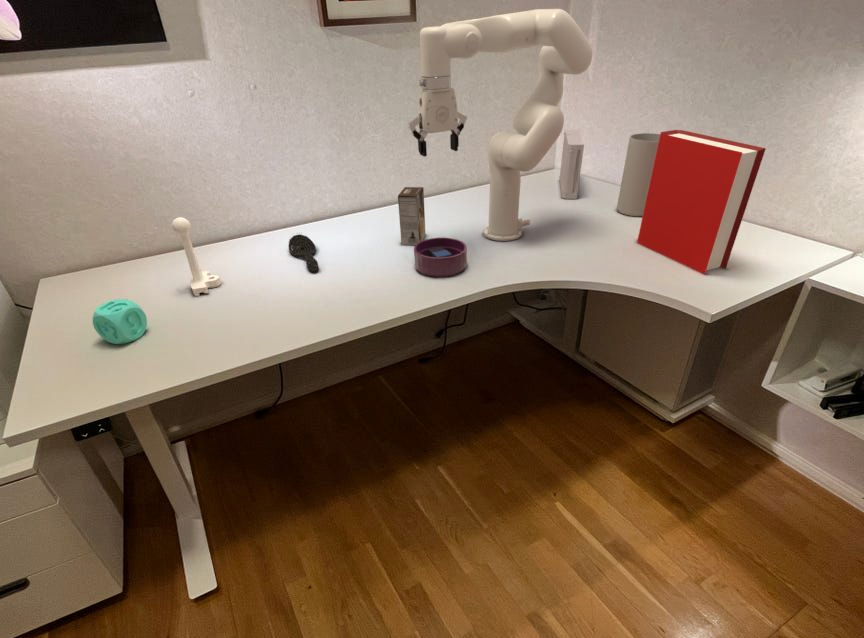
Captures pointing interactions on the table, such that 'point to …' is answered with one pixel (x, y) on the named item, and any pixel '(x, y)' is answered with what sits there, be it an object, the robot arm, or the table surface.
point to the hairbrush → (304, 250)
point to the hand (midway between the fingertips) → (438, 152)
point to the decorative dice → (119, 321)
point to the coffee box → (411, 215)
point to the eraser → (439, 252)
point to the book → (698, 197)
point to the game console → (571, 163)
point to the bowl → (440, 265)
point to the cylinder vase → (637, 173)
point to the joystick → (194, 260)
